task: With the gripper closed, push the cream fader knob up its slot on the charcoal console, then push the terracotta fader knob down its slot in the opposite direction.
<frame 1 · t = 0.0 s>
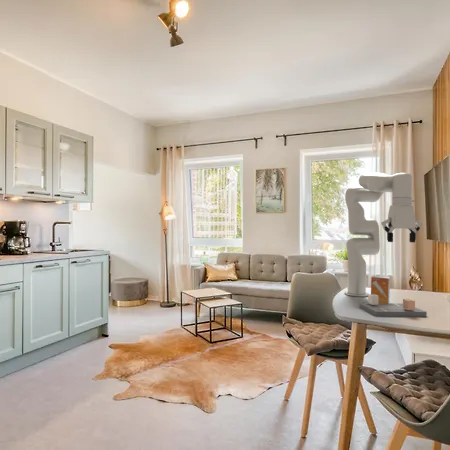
hand: (401, 242, 152), 31 cm above the table, tool pointing down, fingers open, 9 cm apart
terracotta fader: (408, 304, 152), point 4 cm above the table, slide at 5.0 cm
console: (391, 311, 157), on the table
cream fader: (373, 299, 162), point 4 cm above the table, slide at -6.0 cm
small box: (380, 303, 176), on the table
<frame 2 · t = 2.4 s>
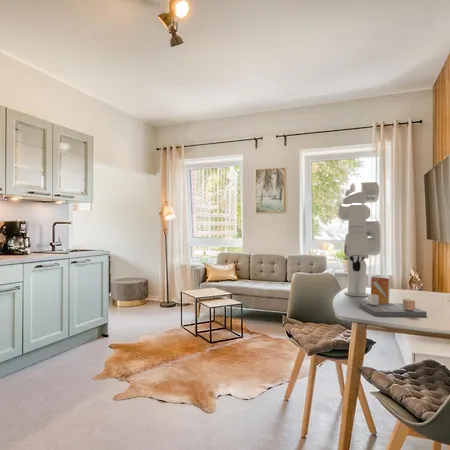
hand: (356, 271, 161), 17 cm above the table, tool pointing down, fingers closed
nothing on the table moved.
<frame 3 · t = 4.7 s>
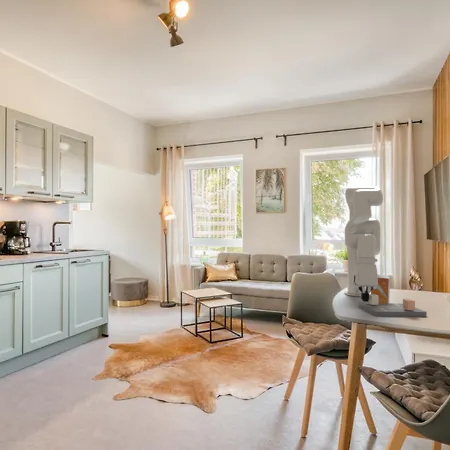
hand: (365, 301, 162), 4 cm above the table, tool pointing down, fingers closed
cream fader: (373, 299, 162), point 4 cm above the table, slide at -6.0 cm, touching gripper
everything else where it was.
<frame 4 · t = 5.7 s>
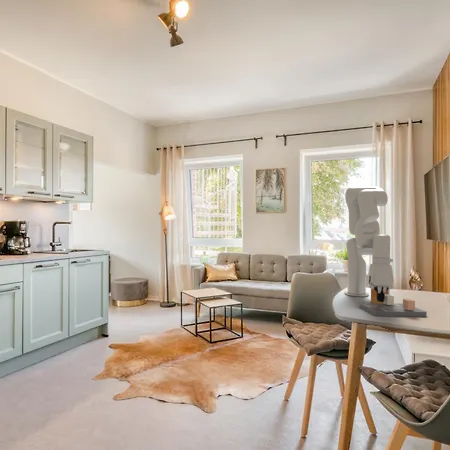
hand: (380, 301, 162), 4 cm above the table, tool pointing down, fingers closed
cream fader: (388, 299, 162), point 4 cm above the table, slide at 1.2 cm, touching gripper
everything else where it was.
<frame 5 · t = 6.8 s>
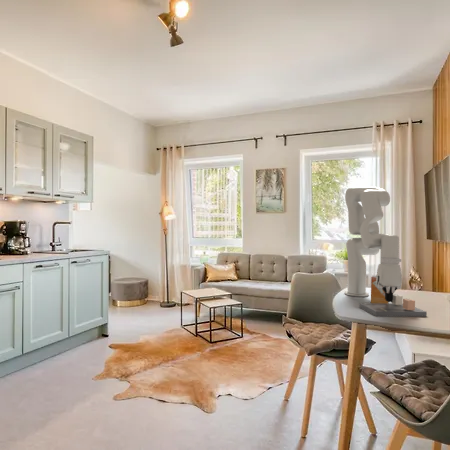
hand: (389, 301, 162), 4 cm above the table, tool pointing down, fingers closed
cream fader: (396, 299, 162), point 4 cm above the table, slide at 5.2 cm, touching gripper
everything else where it was.
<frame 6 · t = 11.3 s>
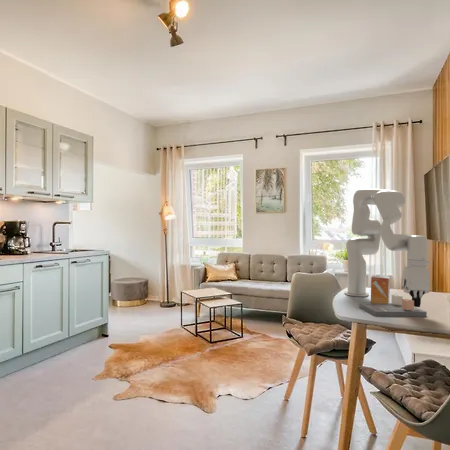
hand: (416, 306, 152), 4 cm above the table, tool pointing down, fingers closed
terracotta fader: (407, 304, 152), point 4 cm above the table, slide at 4.6 cm, touching gripper
cream fader: (396, 299, 162), point 4 cm above the table, slide at 5.2 cm
everything else where it was.
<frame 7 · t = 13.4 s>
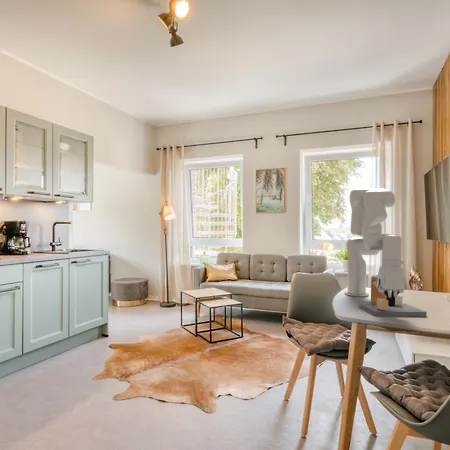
hand: (390, 306, 152), 4 cm above the table, tool pointing down, fingers closed
terracotta fader: (382, 304, 152), point 4 cm above the table, slide at -6.6 cm, touching gripper
everything else where it was.
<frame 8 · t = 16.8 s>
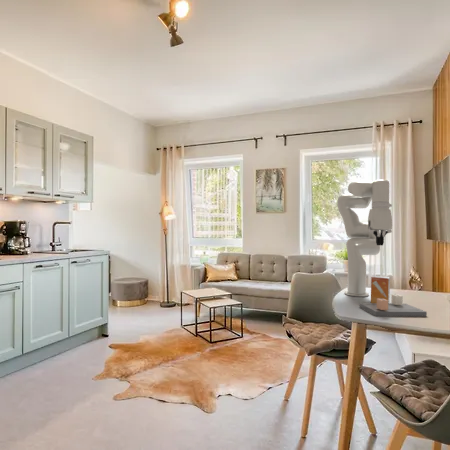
hand: (379, 245, 167), 29 cm above the table, tool pointing down, fingers closed
terracotta fader: (382, 304, 152), point 4 cm above the table, slide at -6.7 cm
everything else where it was.
at the end: cream fader slide at 5.2 cm; terracotta fader slide at -6.7 cm; small box moved 0.2 cm from its start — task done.
